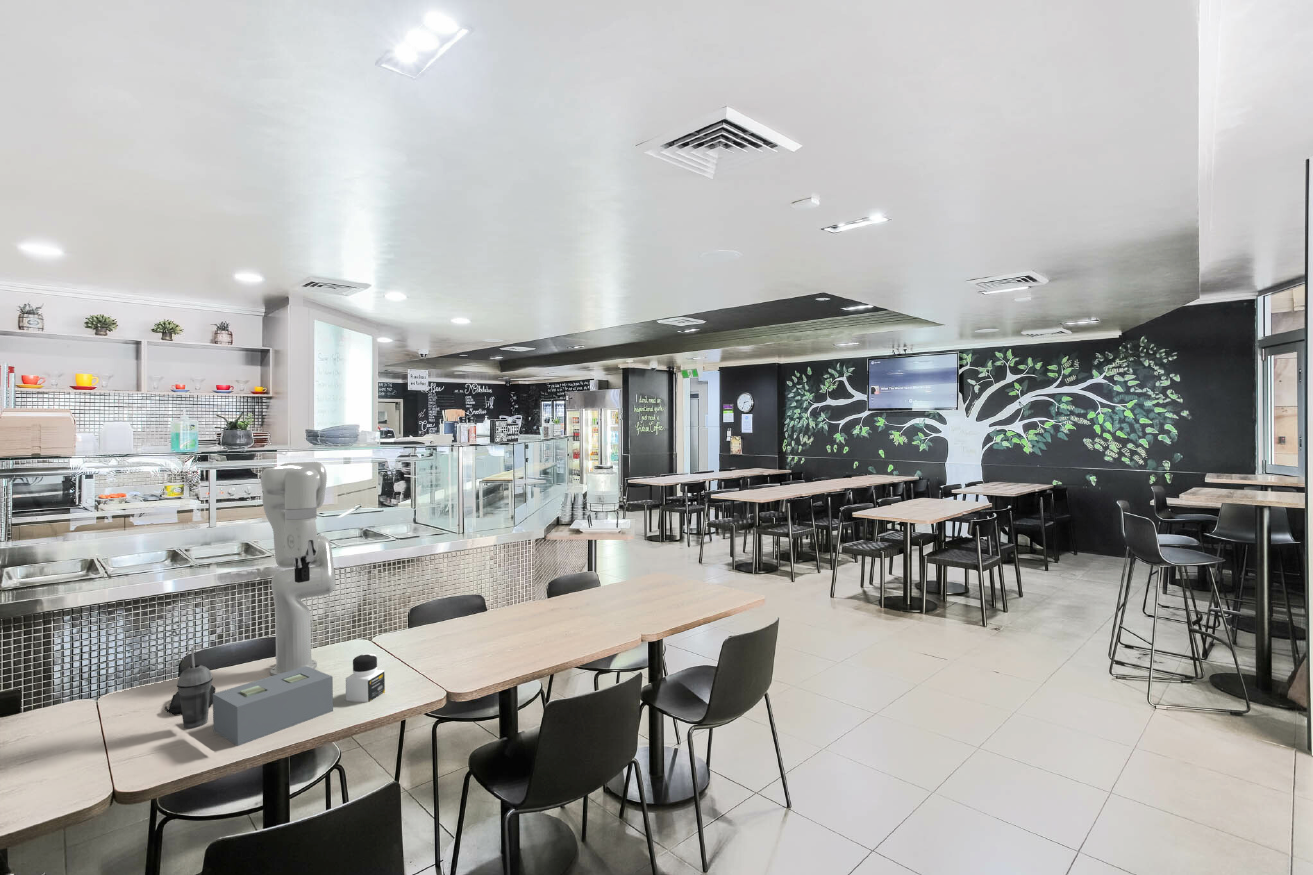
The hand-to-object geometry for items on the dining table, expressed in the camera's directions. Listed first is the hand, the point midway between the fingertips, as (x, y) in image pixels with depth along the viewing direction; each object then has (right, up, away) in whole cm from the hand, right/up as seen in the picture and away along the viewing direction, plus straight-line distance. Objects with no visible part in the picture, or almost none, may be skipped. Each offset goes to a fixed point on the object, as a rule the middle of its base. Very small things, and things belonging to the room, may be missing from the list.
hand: (302, 581), depth 171 cm
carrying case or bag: (-31, -34, 0) cm, 46 cm away
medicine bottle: (+17, -33, +1) cm, 37 cm away
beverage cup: (-18, -34, -15) cm, 41 cm away
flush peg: (+4, -32, -9) cm, 34 cm away
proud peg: (-2, -32, -18) cm, 36 cm away
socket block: (+1, -33, -14) cm, 36 cm away
